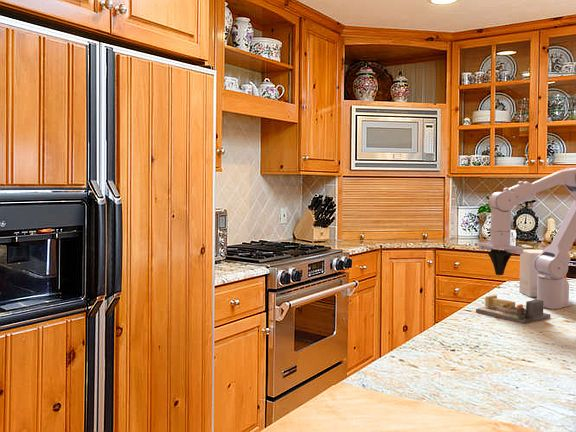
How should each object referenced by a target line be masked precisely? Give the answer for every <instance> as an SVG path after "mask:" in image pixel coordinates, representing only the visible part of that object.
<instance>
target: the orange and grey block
mask: <svg viewBox="0 0 576 432" xmlns="http://www.w3.org/2000/svg"><path fill="white" fill-rule="evenodd" d="M516 307H517V315H519V316H523V315H524V309H525V308H524V305H523V304H518V305H516Z"/></svg>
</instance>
